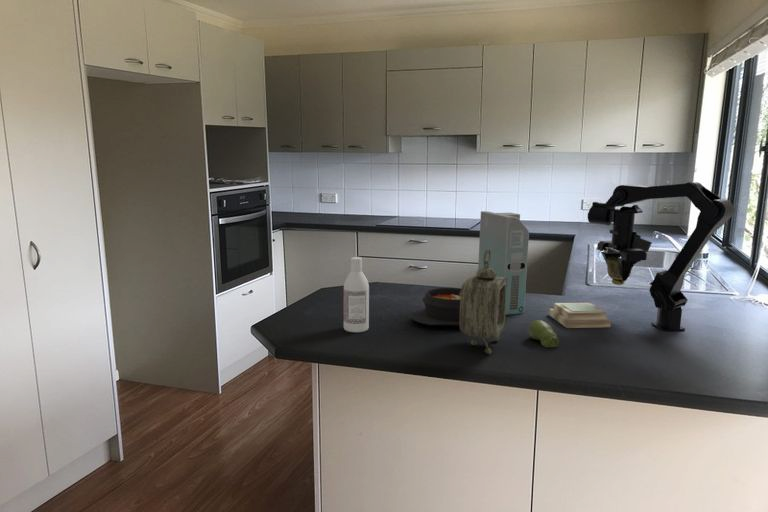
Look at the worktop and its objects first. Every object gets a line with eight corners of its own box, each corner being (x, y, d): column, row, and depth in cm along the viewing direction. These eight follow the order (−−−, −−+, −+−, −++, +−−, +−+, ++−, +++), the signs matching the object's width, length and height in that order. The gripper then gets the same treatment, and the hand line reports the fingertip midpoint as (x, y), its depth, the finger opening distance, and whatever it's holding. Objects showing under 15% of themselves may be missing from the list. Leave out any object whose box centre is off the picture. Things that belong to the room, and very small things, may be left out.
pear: (544, 316, 153) (566, 333, 144) (540, 333, 155) (562, 351, 146) (526, 317, 151) (547, 335, 142) (523, 335, 153) (543, 353, 144)
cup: (603, 285, 171) (605, 259, 170) (606, 280, 178) (608, 255, 176) (630, 288, 168) (632, 261, 167) (632, 283, 174) (634, 257, 173)
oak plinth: (610, 327, 163) (611, 312, 162) (566, 327, 161) (567, 313, 160) (589, 314, 175) (590, 301, 175) (548, 314, 174) (549, 301, 173)
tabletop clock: (493, 358, 137) (499, 255, 132) (457, 352, 140) (460, 252, 136) (504, 340, 150) (509, 246, 146) (470, 335, 153) (474, 243, 149)
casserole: (466, 308, 180) (467, 282, 179) (505, 324, 164) (506, 296, 162) (397, 318, 169) (398, 290, 167) (431, 336, 152) (432, 306, 151)
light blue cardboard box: (524, 313, 176) (530, 216, 170) (502, 315, 173) (507, 216, 168) (496, 300, 191) (501, 210, 185) (476, 301, 188) (480, 211, 183)
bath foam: (350, 324, 162) (351, 254, 158) (372, 327, 159) (373, 257, 155) (339, 330, 156) (339, 258, 152) (361, 334, 153) (362, 261, 149)
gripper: (667, 231, 162) (661, 285, 164) (632, 223, 180) (627, 271, 183) (629, 231, 160) (624, 285, 163) (598, 223, 179) (594, 271, 181)
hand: (618, 278), depth 173 cm, fingers closed on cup, 6 cm apart
